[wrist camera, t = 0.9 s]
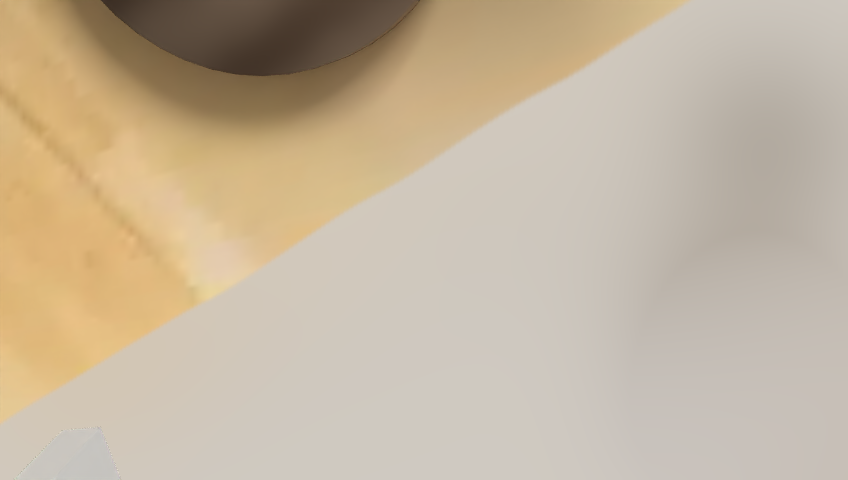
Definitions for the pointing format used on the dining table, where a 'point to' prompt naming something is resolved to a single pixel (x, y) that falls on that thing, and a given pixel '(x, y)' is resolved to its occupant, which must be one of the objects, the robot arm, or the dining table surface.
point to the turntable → (261, 30)
